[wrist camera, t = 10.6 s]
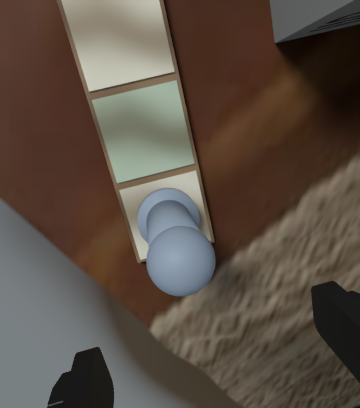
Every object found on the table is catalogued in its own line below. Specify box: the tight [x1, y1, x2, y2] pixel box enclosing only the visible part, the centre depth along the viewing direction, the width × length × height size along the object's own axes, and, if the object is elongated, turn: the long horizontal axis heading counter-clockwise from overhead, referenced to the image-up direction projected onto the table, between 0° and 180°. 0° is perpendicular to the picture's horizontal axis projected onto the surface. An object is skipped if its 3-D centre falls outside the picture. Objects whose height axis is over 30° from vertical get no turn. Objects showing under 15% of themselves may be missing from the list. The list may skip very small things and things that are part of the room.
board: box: [57, 0, 215, 263], centre depth 23 cm, size 21×7×1 cm, turn 13°
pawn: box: [137, 188, 216, 296], centre depth 20 cm, size 5×5×10 cm
